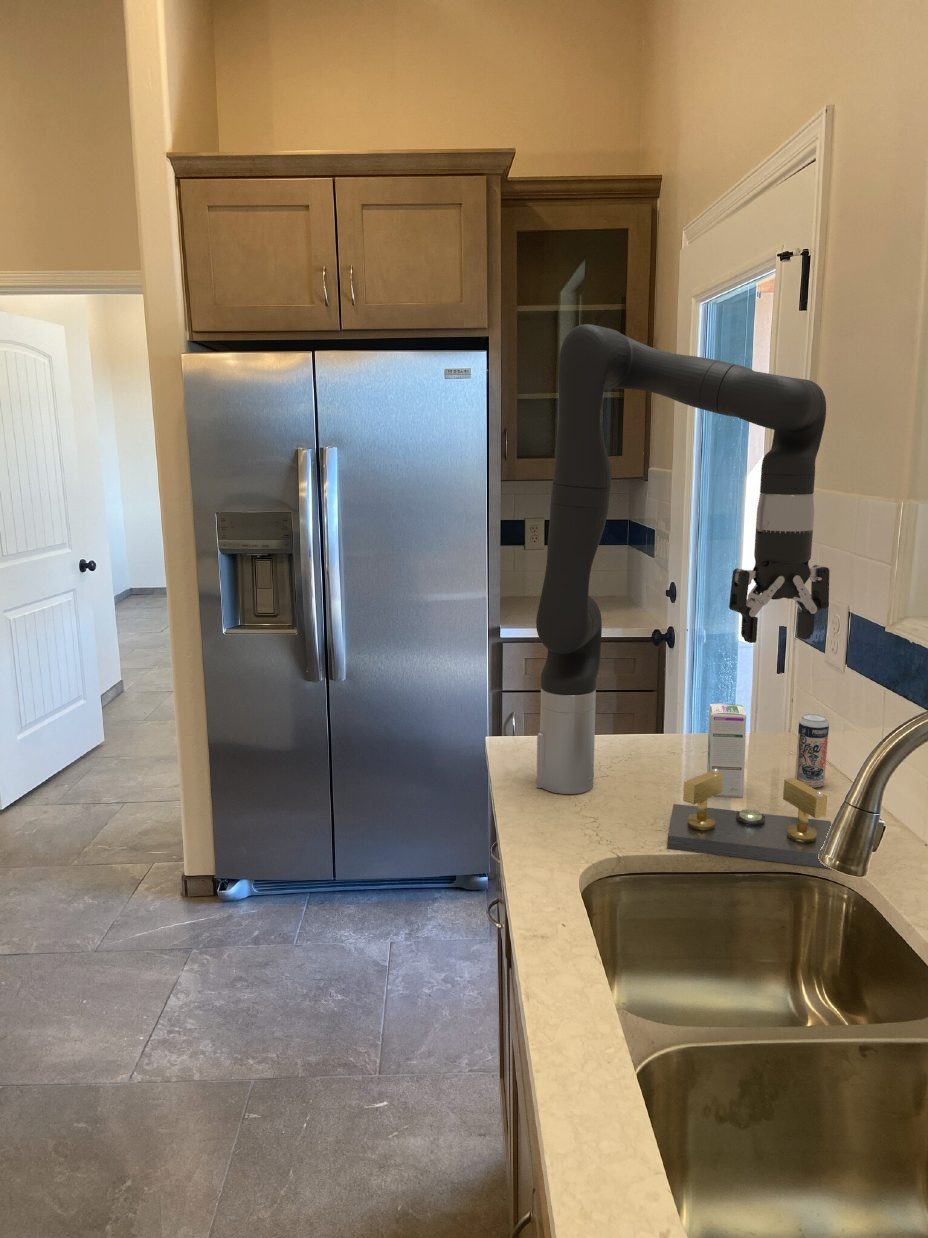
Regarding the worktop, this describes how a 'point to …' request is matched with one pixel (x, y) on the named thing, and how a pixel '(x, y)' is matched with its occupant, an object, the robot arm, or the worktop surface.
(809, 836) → the knob
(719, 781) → the knob
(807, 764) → the beer can
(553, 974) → the worktop surface
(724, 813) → the levelling plate
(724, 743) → the syrup box
